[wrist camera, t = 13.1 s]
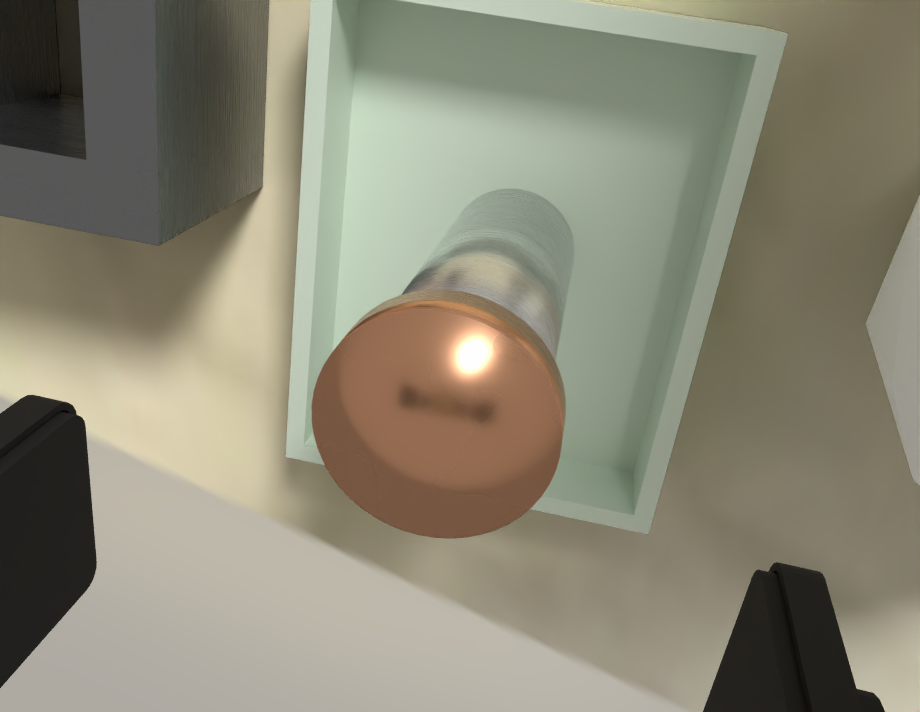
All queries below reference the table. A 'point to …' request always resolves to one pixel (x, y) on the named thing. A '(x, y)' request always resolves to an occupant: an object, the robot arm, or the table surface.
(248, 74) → the hitch block
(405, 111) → the tray
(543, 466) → the pin
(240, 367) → the table surface
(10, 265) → the table surface
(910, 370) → the geodesic sphere
